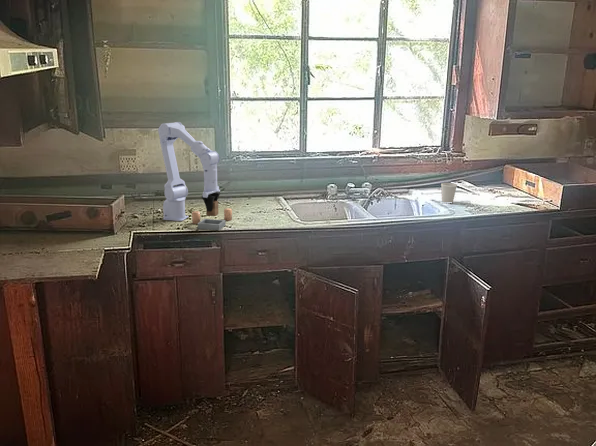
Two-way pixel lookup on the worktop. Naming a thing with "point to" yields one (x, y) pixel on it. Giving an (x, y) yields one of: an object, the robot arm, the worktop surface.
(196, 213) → the tan cylinder
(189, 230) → the worktop surface
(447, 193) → the dixie cup
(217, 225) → the tray
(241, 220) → the worktop surface
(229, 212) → the tan cylinder
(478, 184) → the worktop surface
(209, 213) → the walnut block
